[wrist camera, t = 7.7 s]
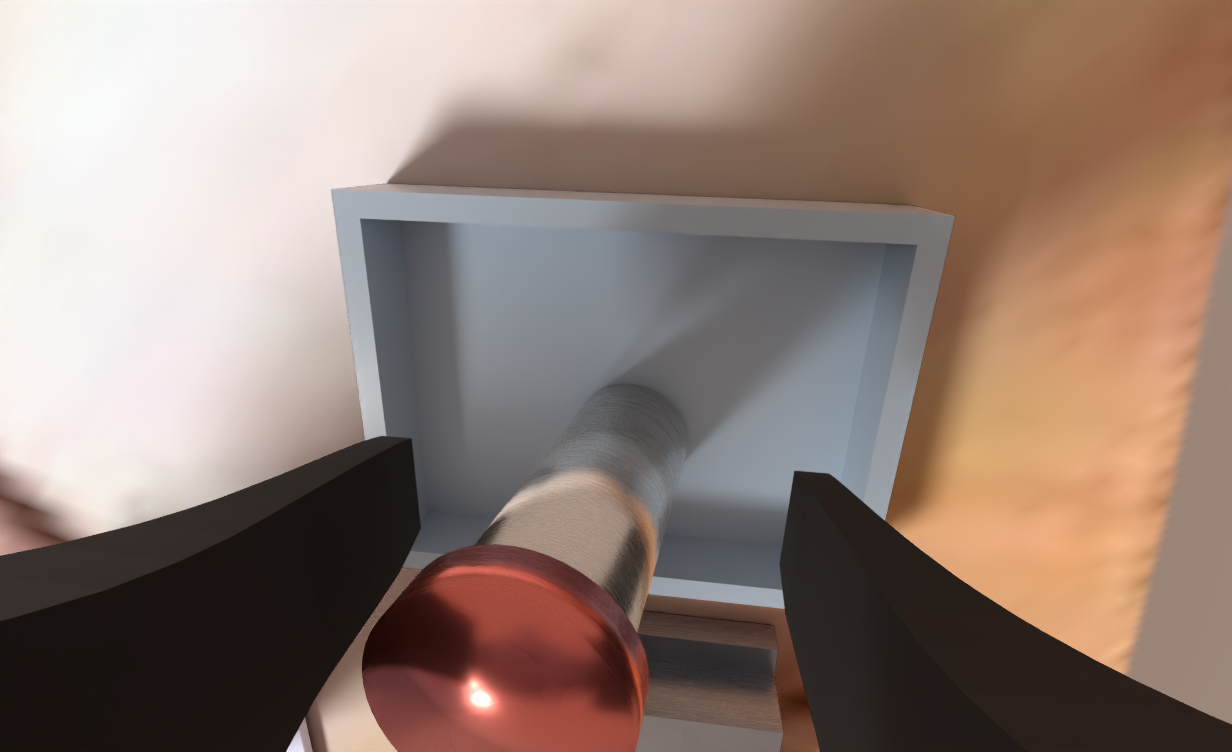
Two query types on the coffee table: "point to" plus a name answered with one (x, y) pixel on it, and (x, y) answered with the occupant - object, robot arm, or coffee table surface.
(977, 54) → the coffee table surface
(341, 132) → the coffee table surface
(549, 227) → the tray
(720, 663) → the block
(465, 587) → the pin
